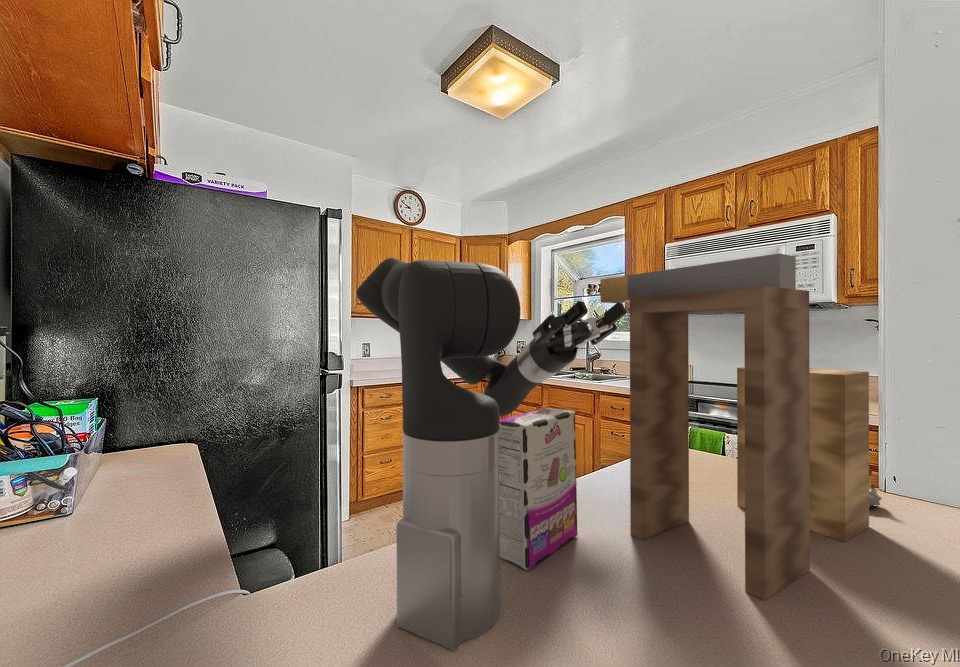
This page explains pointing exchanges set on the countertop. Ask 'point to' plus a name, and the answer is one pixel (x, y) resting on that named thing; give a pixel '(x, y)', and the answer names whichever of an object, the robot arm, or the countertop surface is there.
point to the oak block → (829, 450)
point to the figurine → (873, 493)
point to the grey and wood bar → (704, 278)
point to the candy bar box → (537, 485)
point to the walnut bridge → (768, 423)
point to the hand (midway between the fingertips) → (604, 306)
